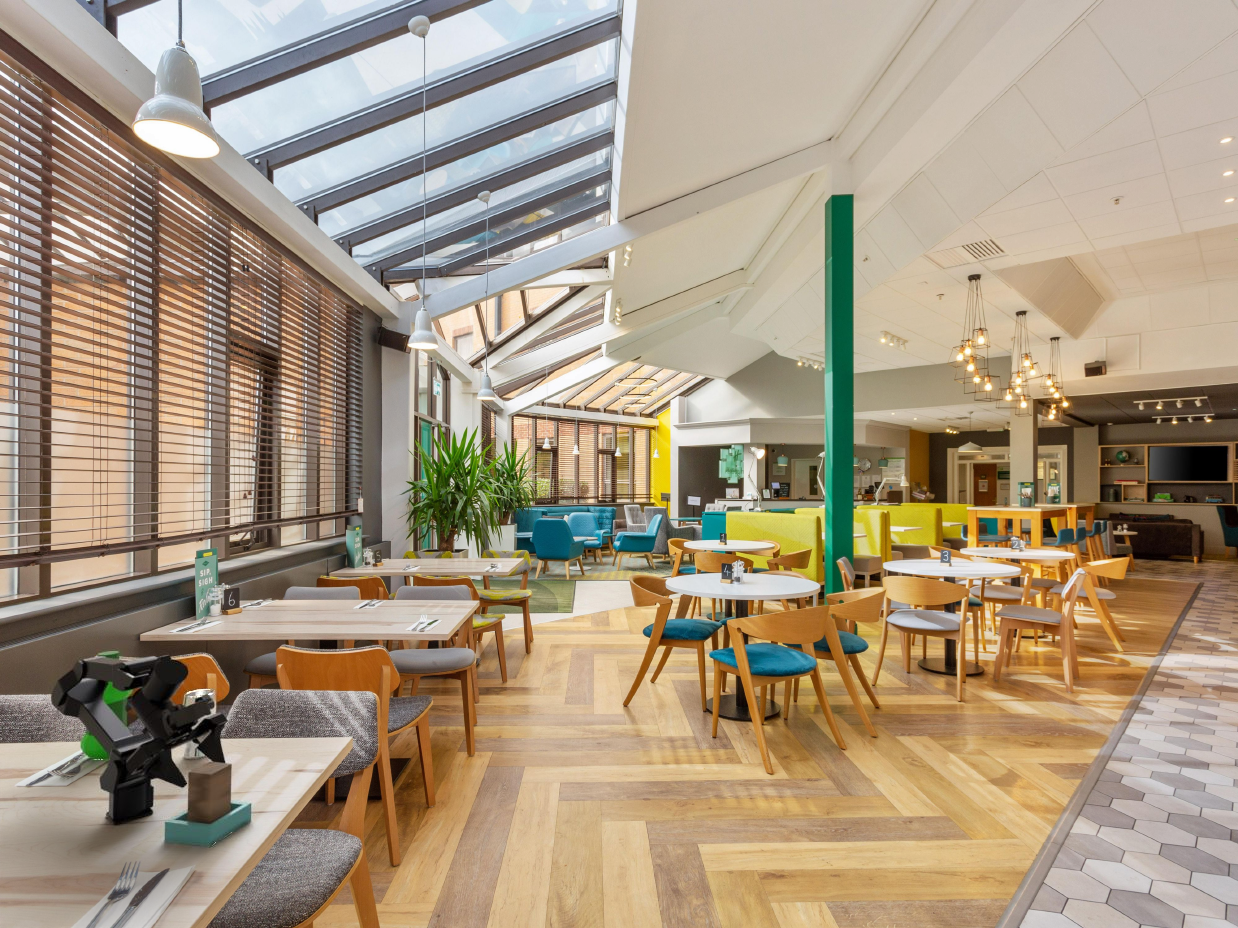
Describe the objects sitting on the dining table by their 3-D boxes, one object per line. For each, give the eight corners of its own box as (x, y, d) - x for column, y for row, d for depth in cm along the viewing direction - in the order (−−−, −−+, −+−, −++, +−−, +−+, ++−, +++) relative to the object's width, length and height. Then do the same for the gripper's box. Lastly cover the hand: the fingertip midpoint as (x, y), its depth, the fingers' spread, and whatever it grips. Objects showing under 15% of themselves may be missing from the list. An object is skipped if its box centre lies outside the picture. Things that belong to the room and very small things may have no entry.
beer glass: (203, 760, 162) (204, 697, 163) (174, 760, 163) (176, 697, 163) (221, 749, 169) (222, 688, 170) (193, 748, 170) (195, 688, 170)
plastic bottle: (123, 745, 172) (126, 646, 173) (137, 755, 165) (139, 652, 166) (74, 757, 164) (77, 653, 165) (86, 768, 158) (89, 660, 159)
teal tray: (164, 840, 125) (164, 821, 125) (207, 815, 135) (208, 797, 135) (210, 846, 123) (210, 827, 123) (251, 820, 133) (251, 802, 133)
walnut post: (187, 831, 127) (188, 771, 128) (208, 818, 132) (209, 761, 132) (209, 834, 126) (210, 774, 126) (230, 821, 131) (231, 763, 131)
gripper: (140, 700, 122) (190, 767, 120) (221, 672, 141) (266, 730, 138) (103, 740, 124) (152, 808, 121) (188, 708, 142) (232, 766, 139)
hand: (205, 775), depth 130 cm, fingers open, 9 cm apart
